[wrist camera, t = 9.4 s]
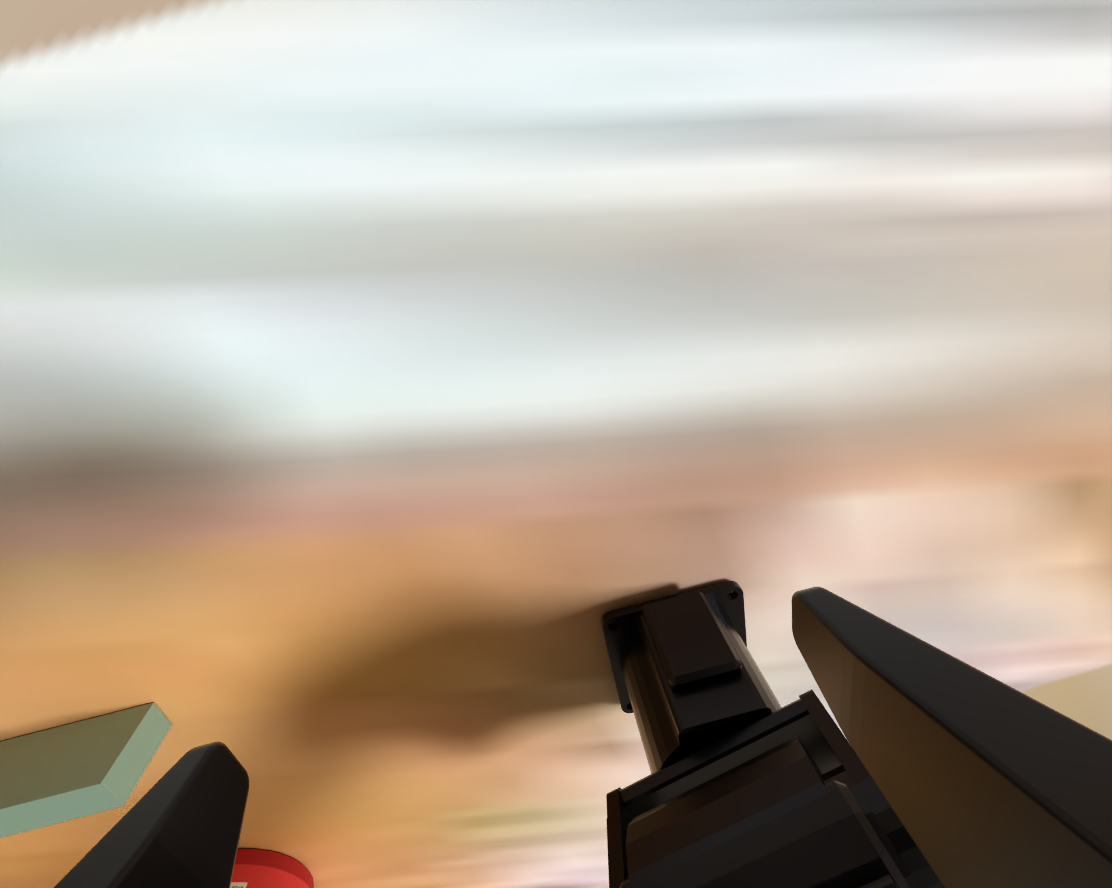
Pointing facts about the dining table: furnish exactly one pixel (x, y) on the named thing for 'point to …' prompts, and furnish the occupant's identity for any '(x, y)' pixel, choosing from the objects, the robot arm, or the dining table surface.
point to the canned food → (268, 870)
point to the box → (76, 768)
